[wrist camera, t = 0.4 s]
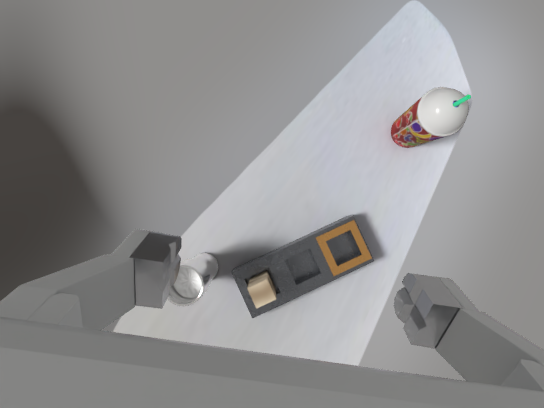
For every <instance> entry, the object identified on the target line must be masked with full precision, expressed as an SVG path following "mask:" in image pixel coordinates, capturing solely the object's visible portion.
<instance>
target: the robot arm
mask: <svg viewBox="0 0 544 408" xmlns="http://www.w3.org/2000/svg"><path fill="white" fill-rule="evenodd" d="M180 249H181V237H180V236H175V235H170V234H164V233H159V232H153V231H152V232H151V231H147V230H140V229H135V230H133V232H132V233H131V234H130V235H129V236H128V237H127V238H126V239H125V240H124V241H123V242H122V243H121V244H120V246H119V247H118V248H117V249H116V250H115V251H114V252H113V253H112V254H111V255H109V254H105V255H102V256H100V257H97V258H94V259H91V260H89V261H86V262H83V263H80V264H78V265H75V266H72V267H69V268H67V269H64V270H61V271H58V272H56V273H53V274H50V275H47V276H44V277H42V278H39V279H36V280H34V281H31V282H28V283H25V284H23V285H20V286H19V287H17V288H16V289H15V290H14V291H13V292H11V293H10V294H9V295H8V296H6V297H5V298H4V299H3V300H2V301H1V302H0V408H544V350H543V349H542V348H540V347H539V346H537V345H535V344H534V343H532V342H531V341H529V340H527V339H526V338H524V337H523V336H521V335H519V334H518V333H516V332H515V331H513V330H512V329H510V328H508V327H507V326H505V325H503V324H502V323H500V322H499V321H497V320H496V319H494V318H492V317H491V316H489V315H488V314H486V313H485V312H480V311H479V310H478V309H477V308H476V307H475V305H474V304H473V303H472V302H471V301H470V300H469V299H468V297H467V296H466V295H465V294H464V293H463V291H462V290H460V288H459V287H458V286H457V285H456V283H455V282H454V281H453V280H451V279H449V278H442V277H432V276H425V275H418V274H410V273H408V274H407V275H406V276H405V277H404V279H403V281H402V283H403V286H404V288H402V289H401V290H399V291H398V292H397V294H396V297H395V300H394V308H395V313H396V315H397V317H398V318H399V319H400V320H401V321H402V322H403V323H405V325H404V327H403V329H404V331H405V333H406V335H407V337H408V339H409V341H410V343H411V345H417V346H423V347H429V348H435V349H436V351H437V352H438V353H439V354H440V355H441V356H442V357H443V358H444V359H445V360H446V361H447V362H448V363H449V364H450V365H451V366H452V367H453V368H454V369H455V370H456V371H457V372H458V373H459V374H460V375H461V376H462V377H463V378H464V379H465V380H466V381H462V380H454V379H448V378H440V377H433V376H426V375H419V374H411V373H404V372H397V371H389V370H382V369H375V368H368V367H361V366H354V365H347V364H339V363H332V362H325V361H318V360H311V359H304V358H296V357H289V356H282V355H275V354H267V353H260V352H253V351H246V350H238V349H231V348H224V347H216V346H209V345H202V344H194V343H187V342H180V341H173V340H165V339H158V338H151V337H144V336H137V335H130V334H123V333H116V332H108V331H101V330H102V329H104V328H105V327H107V326H108V325H109V324H111V323H112V322H114V321H115V320H116V319H118V318H119V317H121V316H122V315H124V314H125V313H127V312H128V311H130V310H131V309H132V308H134V307H135V305H136V306H144V307H153V308H163V306H164V304H165V302H166V300H167V298H168V296H169V293H170V286H172V285H174V283H175V281H176V279H177V276H178V273H179V269H180V261H181V258H180V256H179V255H178V252H179V251H180Z"/></svg>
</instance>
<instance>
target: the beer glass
mask: <svg viewBox="0 0 544 408" xmlns="http://www.w3.org/2000/svg"><path fill="white" fill-rule="evenodd" d="M217 272H218V262H217V260H216V259H215V257H214V256H212V255H211V254H208V253H200V254H198V255H196V256H195V257H193V258H191V259H186V260H184V261H182V262H180V269H179V273H178V276H177V279H176V281H175V283H174V285H172V286H170V293H169V296H168V298H167V299H168V300H169V301H170V302H171V303H173V304H175V305H178V306H189V305H191V304H193V303H195V302H196V301H197V300H198V299H199V298H201V297H202V296H203V295H204V294H205V292H206V291H207V290H208V288H209V286H210V284H211V281H212V279H213V278H214V277H215V276H216V274H217Z"/></svg>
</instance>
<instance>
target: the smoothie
mask: <svg viewBox="0 0 544 408" xmlns="http://www.w3.org/2000/svg"><path fill="white" fill-rule="evenodd" d="M470 98H471V96H470V95H467V96H464V95H463V94H462V93H461V92H459V91H457V90H455V89H451V88H446V87H438V88H434V89H432V90H430V91H428V92H427V93H426V94H425V95H424V96H422V97H421V98H420V99H419V100H418V101H417V102H416V103H415V104H413V105H412V106H411V107H410V108H409V109H408V110H407V111H406V112H404V113H403V114H402V115H401V116H400V117H399V118H398V119H397V120H396V121H395V122H394V123H393V125H392V128H391V136H392V139H393V141H394V142H395V143H396V144H398V145H399V146H401V147H406V148H409V147H414V146H417V145H420V144H423V143H426V142H429V141H433V140H436V139H439V138H442V137H445V136H450V135H452V134H454V133H456V132H458V131H459V130H460V129H461V128H462V127H463V125H464V123H465V121H466V117H467V115H468V109H469V106H468V101H467V100H468V99H470Z"/></svg>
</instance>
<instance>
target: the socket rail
mask: <svg viewBox="0 0 544 408" xmlns="http://www.w3.org/2000/svg"><path fill="white" fill-rule="evenodd" d="M373 261H374V259H373V257H372V255H371V253H370V251H369V249H368V247H367V244H366V242H365V240H364V238H363V236H362V234H361V232H360V229H359V227H358V225H357V223H356V221H355V219H354V217H353V216H346V217H344V218H342V219H340V220H338V221H336V222H334V223H331V224H329V225H327V226H325V227H323V228H321V229H319V230H316V231H314V232H312V233H310V234H308V235H306V236H304V237H301V238H299V239H297V240H295V241H293V242H291V243H289V244H286V245H284V246H282V247H280V248H278V249H276V250H273V251H271V252H269V253H267V254H265V255H263V256H261V257H258V258H256V259H254V260H252V261H250V262H248V263H246V264H243V265H241V266H239V267H237V268H235V269H233V271H232V275H233V277H234V279H235V281H236V283H237V286H238V288H239V290H240V292H241V294H242V296H243V299H244V301H245V303H246V305H247V307H248V310H249V312H250V314H251V316H252V318H254V317H256V316H258V315H260V314H263V313H265V312H267V311H269V310H271V309H273V308H275V307H277V306H280V305H282V304H284V303H286V302H288V301H290V300H292V299H294V298H297V297H299V296H301V295H303V294H305V293H307V292H309V291H311V290H314V289H316V288H318V287H320V286H322V285H324V284H326V283H328V282H331V281H333V280H335V279H337V278H339V277H341V276H343V275H345V274H348V273H350V272H352V271H354V270H356V269H358V268H360V267H362V266H365V265H367V264H369V263H371V262H373ZM266 270H268V272H269V275H270V277H271V279H272V281H273V283H274V285H275V288H276V300H274V301H272V302H270V303H267V304H265V305H263V306H261V307H259V308H257V309H256V307H255V305H254V302H253V300H252V298H251V296H250V294H249V291H248V289H247V287H248V284H249V280H250V278H251V277H253V276H255V275H258V274H260V273H262V272H264V271H266Z"/></svg>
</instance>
